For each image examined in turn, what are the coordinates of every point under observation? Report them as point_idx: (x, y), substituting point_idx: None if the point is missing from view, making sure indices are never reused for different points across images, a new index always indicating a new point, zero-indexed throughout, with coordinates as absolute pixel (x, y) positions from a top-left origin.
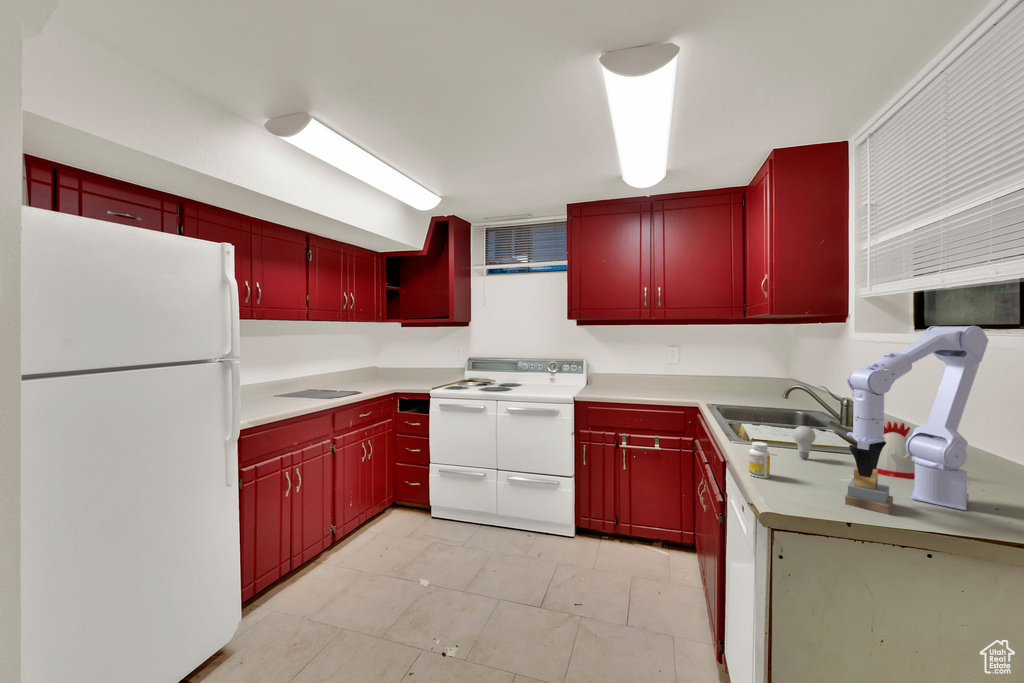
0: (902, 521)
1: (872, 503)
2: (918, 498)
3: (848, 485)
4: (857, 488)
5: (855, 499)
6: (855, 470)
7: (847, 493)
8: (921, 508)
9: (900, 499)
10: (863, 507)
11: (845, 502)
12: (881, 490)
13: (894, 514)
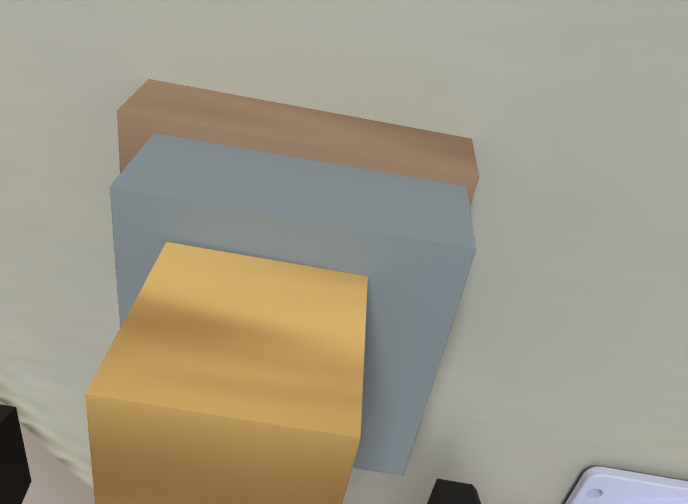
0: (91, 370)
1: None
2: (586, 499)
3: (136, 193)
4: (115, 262)
5: None
6: (89, 399)
7: (233, 133)
8: (430, 473)
9: (562, 416)
10: None
11: (140, 88)
12: None
13: None
